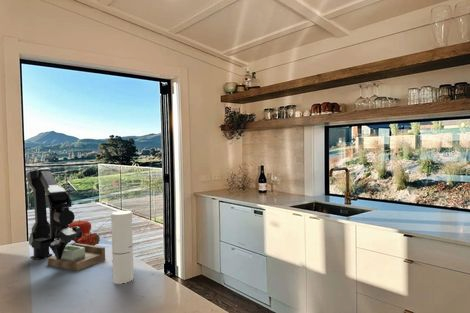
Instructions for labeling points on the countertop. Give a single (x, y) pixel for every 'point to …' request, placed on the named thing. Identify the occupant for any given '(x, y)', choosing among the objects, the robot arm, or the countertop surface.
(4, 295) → the countertop surface
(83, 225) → the apple
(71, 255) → the sage tray
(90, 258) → the walnut shelf
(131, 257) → the cylindrical container
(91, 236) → the dragon fruit
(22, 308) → the countertop surface
